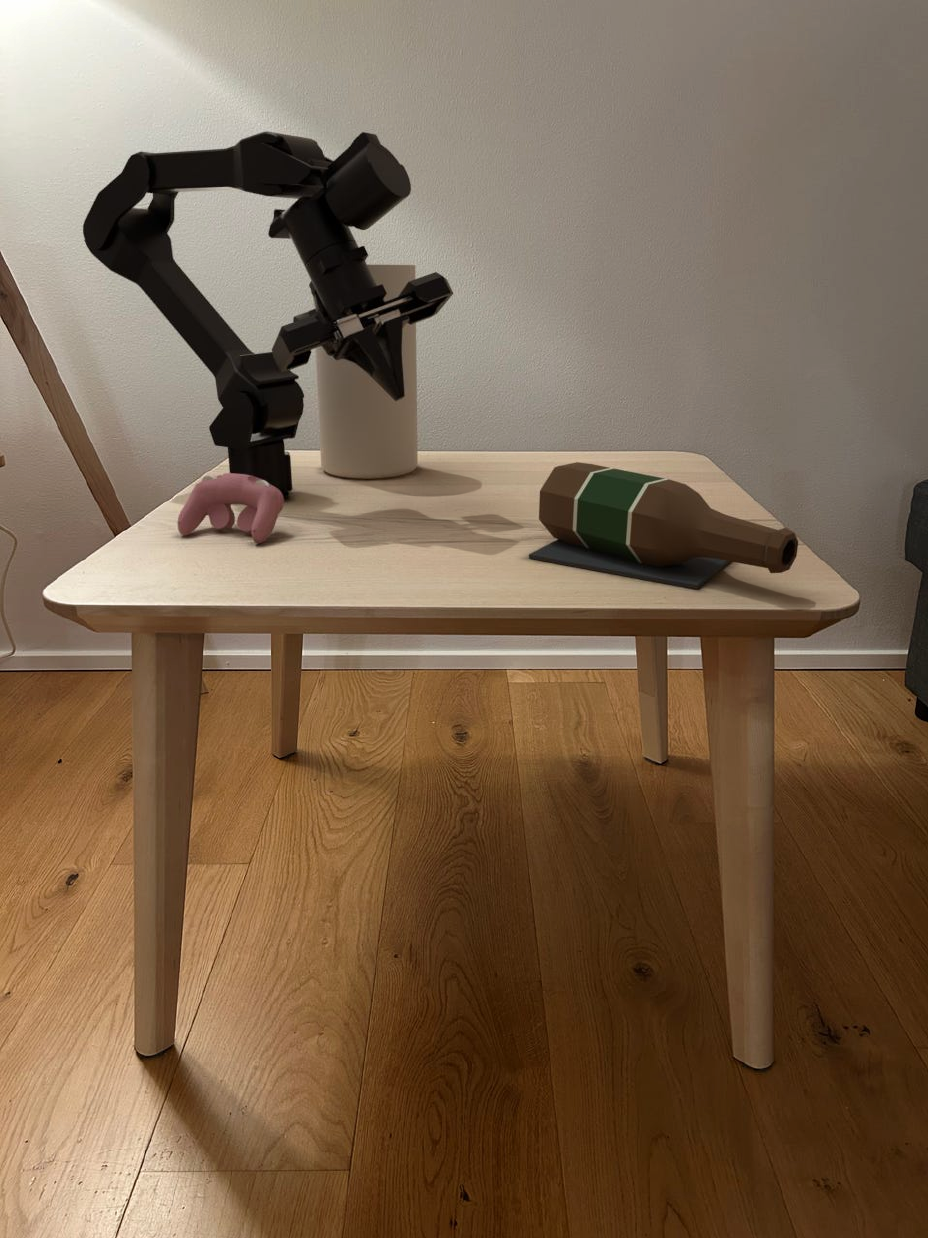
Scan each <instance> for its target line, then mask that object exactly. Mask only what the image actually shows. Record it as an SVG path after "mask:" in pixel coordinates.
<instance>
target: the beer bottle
mask: <svg viewBox="0 0 928 1238" xmlns="http://www.w3.org/2000/svg"><path fill="white" fill-rule="evenodd" d="M538 505H539V506H538V520H539V521H540V523H541V524H542V525H543V527H544V528H545V529H546V530H547V531H548V533H549V534H550V535H551V536H552V538H554V539H556V540H558V539H559V540H562V541H564V542H567V543H571V544H574V545H578V546H582V547H585V548H589V549H592V550H596V551H600V552H603V553H607V554H611V555H614V556H618V557H621V558H625V559H629V560H632V561H636V562H639V563H643V564H649V565H654V566H668V565H676V564H679V563H682V562H685V561H688V560H691V559H693V558H696V557H702V558H714V559H720V560H725V561H731V562H730V563H737V564H741V565H742V564H743V565H748V566H753V567H759V568H764V569H768V572H769V573H770V574H782V573H784V572H787V571H790V569H791V567H792V566H793V564H794V562H795V560H796V558H797V556H798V548H799V542H800V541H799V539H798V538H797V535H796V533H795V531H792V530H790V529H789V528H787V527H783V528H780V529H776V528H773V527H770V526H765V525H762V524H759V523H756V522H752V521H748V520H745V519H741V518H738V517H735V516H733V515H732V516H731V515H728V514H725V513H722V512H720V511H718V510H716V509H713V508H712V507H710V505H709V504H708V503H707V501H706V500H705V499H704V498H703V496H702V495H701V494H700V493H699V492H698V491H696V490H695V489H693V488H692V487H690V486H689V485H688V484H687V483H683V482H680V481H676V480H672V479H669V478H664V477H659V476H654V475H650V474H644V473H639V472H634V471H630V470H624V469H619V468H614V467H608V466H604V465H599V464H595V463H594V464H593V463H586V462H578V461H576V462H572V463H567V464H562V465H557V466H554V467H553V469H552V471H551V472H550V474H549V476H548V477H547V478H546V480H545V482H544V483H543V485H542V487H541V488H540V490H539V502H538Z"/></svg>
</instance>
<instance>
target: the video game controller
mask: <svg viewBox="0 0 928 1238" xmlns="http://www.w3.org/2000/svg"><path fill="white" fill-rule="evenodd" d="M284 503H285V499H284V498H283V495H282V493H281V491H280V490H279V489H277V488H276V487H274V486H272V485H271V484H269V483H268V482H266V481H265V480H262V479H259V478H257V477H254V476H251V475H245V474H234V473H230V472H225V473H223V474H221V475H220V474H219V475H213V476H212V475H204V476H203V477H202V478H201V481H199V482H197V483H195V486H194V487H193V488H192V491H191V492H190V495H189V496H188V498H187V500H186V502H185V504H183V507H182V508H181V510H180V511H179V514H178V518H177V523H176V524H177V531H178V532H179V534H180V535H181V536H188V535H190V534H192V533H193V532H194V531H196V529H198V527H199V526H200V525H201V523H203V521H204V520H205V519H206V517H207V516H208V519H209V523H210V524H211V526H212V528H214V529H217V530H219V531H223V532H224V531H229V530H230V529H232V527H233V526H234V525H235V522H236V526H237V527H238V528H239V529H240V530H241V531H242V532H244V533H246V534H250V535H251V538H252V540H253V542H254V543H255V544H258V545H260V544H262V543H264V542H265V541H266V540H267V539H268V538H269V537H270V536H271V534H272V533H273V530H274V529H275V526H276V524H277V520H278V517H279V514H280V513H281V512H282V510H283V508H284ZM232 505H242V506H246V507H244V508H243V509H242V510H241V511H240V512H239V514H238V516H237V519H236V515H235V513H234V511H233V508H232Z"/></svg>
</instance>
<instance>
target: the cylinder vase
mask: <svg viewBox="0 0 928 1238" xmlns="http://www.w3.org/2000/svg"><path fill="white" fill-rule="evenodd" d="M367 266H368V268H369V270H370V272H371V274H372V276H373V278H374V280H375V282H376V284H377V286H378V285H381V284H383V286H384V288H385V290H386V292H387V294H386V296H385V297H384V301H388V300H391V299H394V298H396V297H398V296H399V295H400V293H401V292H402V290H403V289H404V287H405V286H406V284H407V283H408V282H409V281H412V280H415V279H416V264H367ZM312 307H313V309H316V308H315V302H314V297H313V296H312ZM313 309H312V310H313ZM375 316H378V314H377V315H375ZM375 316H374V317H375ZM371 318H372V317H371ZM368 319H370V318H368ZM314 350H315V368H316V369H315V370H316V388H317V406H318V407H317V409H318V410H317V411H318V412H317V413H318V430H319V431H318V432H319V449H320V451H319V452H320V467H321V468H322V470H323V471H324V472H326V473H327V474H330V475H332V476H335V477H341V478H346V479H364V480H366V479H368V480H369V479H387V478H394V477H399V476H404V475H408V474H410V473H412V472H413V471H415V469H416V468H417V466H418V463H419V462H418V461H419V460H418V458H419V457H418V456H419V455H418V383H417V382H418V380H417V379H418V377H417V376H418V375H417V372H418V371H417V370H418V369H417V323H414V324H412V325H410V324H408V323H407V324H406V325H405V326H404V327H403V329H402V364H403V378H404V391H405V396H404V397H403V398H402V399H400V400H398V401H395V400H394V399H393V398H392V397H391V396H390V395H389V394H388V393H387V392H386V391H385V390H384V389H383V388H382V387H381V386H380V385H379V384H378V383H377V382H376V381H375V380H374V379H373V378H372V377H371V376H370V375H369V374H368V373H366V372H365V371H364V370H363V369H362V368H360V367H359V366H358V365H357V364H355V363H353V362H351V361H348V360H345V359H340V360H335V359H334V358H333V356H329V355H328V354H327V353H326V352H325V350H324V349H323V347H322V346H320V347H317V348H314Z"/></svg>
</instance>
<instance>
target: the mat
mask: <svg viewBox="0 0 928 1238" xmlns="http://www.w3.org/2000/svg"><path fill="white" fill-rule="evenodd" d="M528 559H530V560H536V561H541V562H546V563H552V564H556V565H557V564H558V565H561V566H562V565H563V566H568V567H573V568H579V569H583V570H584V569H585V570H590V571H595V572H601V573H606V574H611V575H617V576H622V577H627V578H628V577H629V578H633V579H638V580H644V581H650V582H655V583H660V584H666V585H671V586H677V587H681V588H687V589H692V590H698V589H699V588H701V587H702V586H703V585H704V584H705V583H706V582H708V581H709V580H710V579H711V578H713V577H714V576H715V575H716V574H718V572H720V571H721V570H722V569H724V568H725V567H726V566H727V565H728V564H729V563H732V562H731V561H725V560H720V559H714V558H702V557H696V558H693V559H691V560H688V561H685V562H682V563H679V564H676V565H668V566H654V565H649V564H643V563H639V562H636V561H632V560H629V559H625V558H621V557H618V556H614V555H611V554H607V553H603V552H600V551H596V550H592V549H589V548H585V547H582V546H578V545H574V544H571V543H567V542H564V541H562V540H559V539H556V540H554V541H552V542H550V543H548V544H546V545H544V546H543V547H540V548H539V549H537V550H535V551H533V552H530V553H529V554H528Z"/></svg>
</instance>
